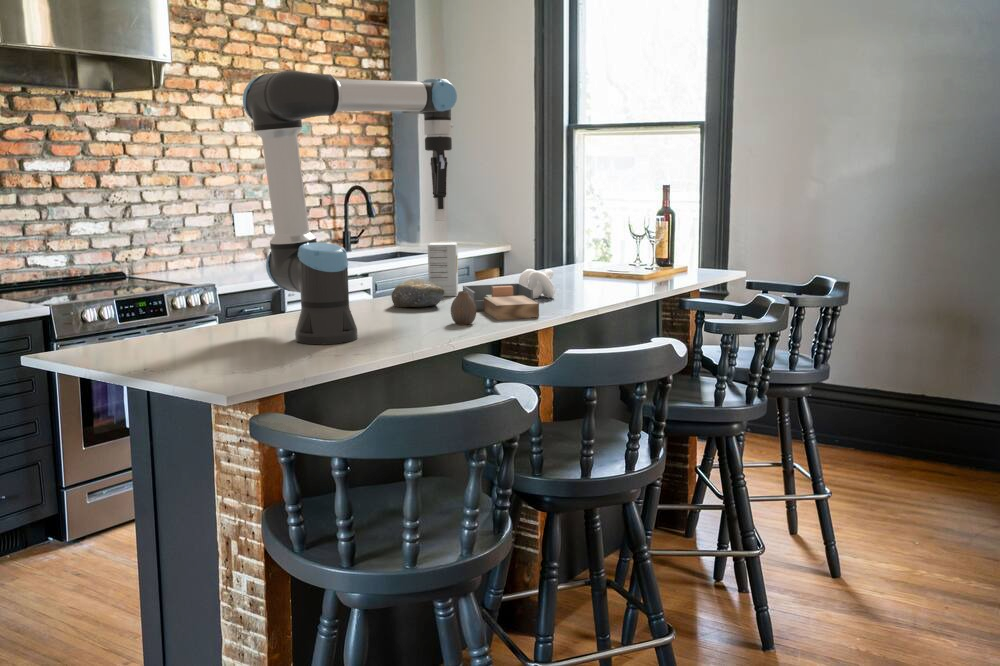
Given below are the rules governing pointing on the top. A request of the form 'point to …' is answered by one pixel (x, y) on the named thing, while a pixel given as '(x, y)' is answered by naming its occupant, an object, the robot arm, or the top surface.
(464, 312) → the vase
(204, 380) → the top surface
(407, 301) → the stone
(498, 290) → the tile
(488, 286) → the box
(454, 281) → the supplement box
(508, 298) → the wooden block
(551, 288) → the white knot sculpture
